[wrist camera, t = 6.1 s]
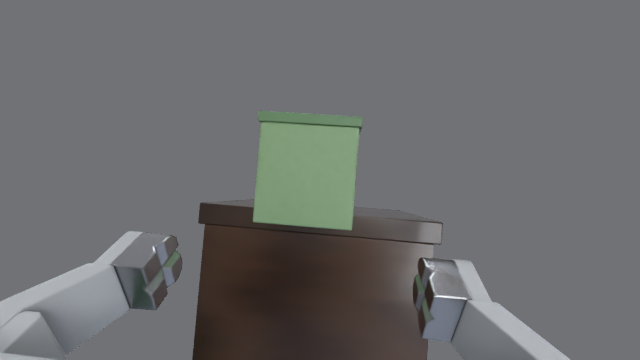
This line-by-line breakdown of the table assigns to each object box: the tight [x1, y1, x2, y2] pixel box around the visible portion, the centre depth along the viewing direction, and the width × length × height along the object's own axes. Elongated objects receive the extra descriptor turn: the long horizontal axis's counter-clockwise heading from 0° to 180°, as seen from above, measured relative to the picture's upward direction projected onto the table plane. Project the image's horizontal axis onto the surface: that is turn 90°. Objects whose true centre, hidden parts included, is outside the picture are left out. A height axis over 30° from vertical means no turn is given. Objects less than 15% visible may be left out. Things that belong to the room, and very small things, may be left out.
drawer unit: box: [193, 199, 443, 360], centre depth 29 cm, size 17×17×26 cm
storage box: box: [253, 111, 363, 230], centre depth 24 cm, size 4×24×4 cm, turn 176°
